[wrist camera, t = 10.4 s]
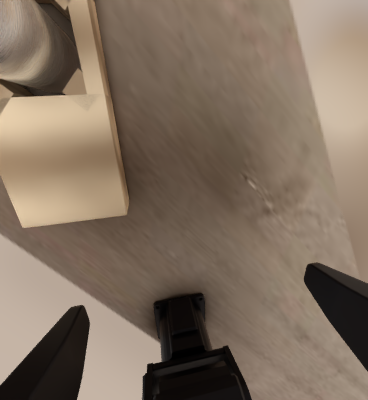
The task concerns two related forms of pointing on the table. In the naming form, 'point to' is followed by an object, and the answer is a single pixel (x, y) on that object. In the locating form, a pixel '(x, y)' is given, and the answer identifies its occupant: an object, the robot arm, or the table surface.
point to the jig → (64, 138)
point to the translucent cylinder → (34, 47)
